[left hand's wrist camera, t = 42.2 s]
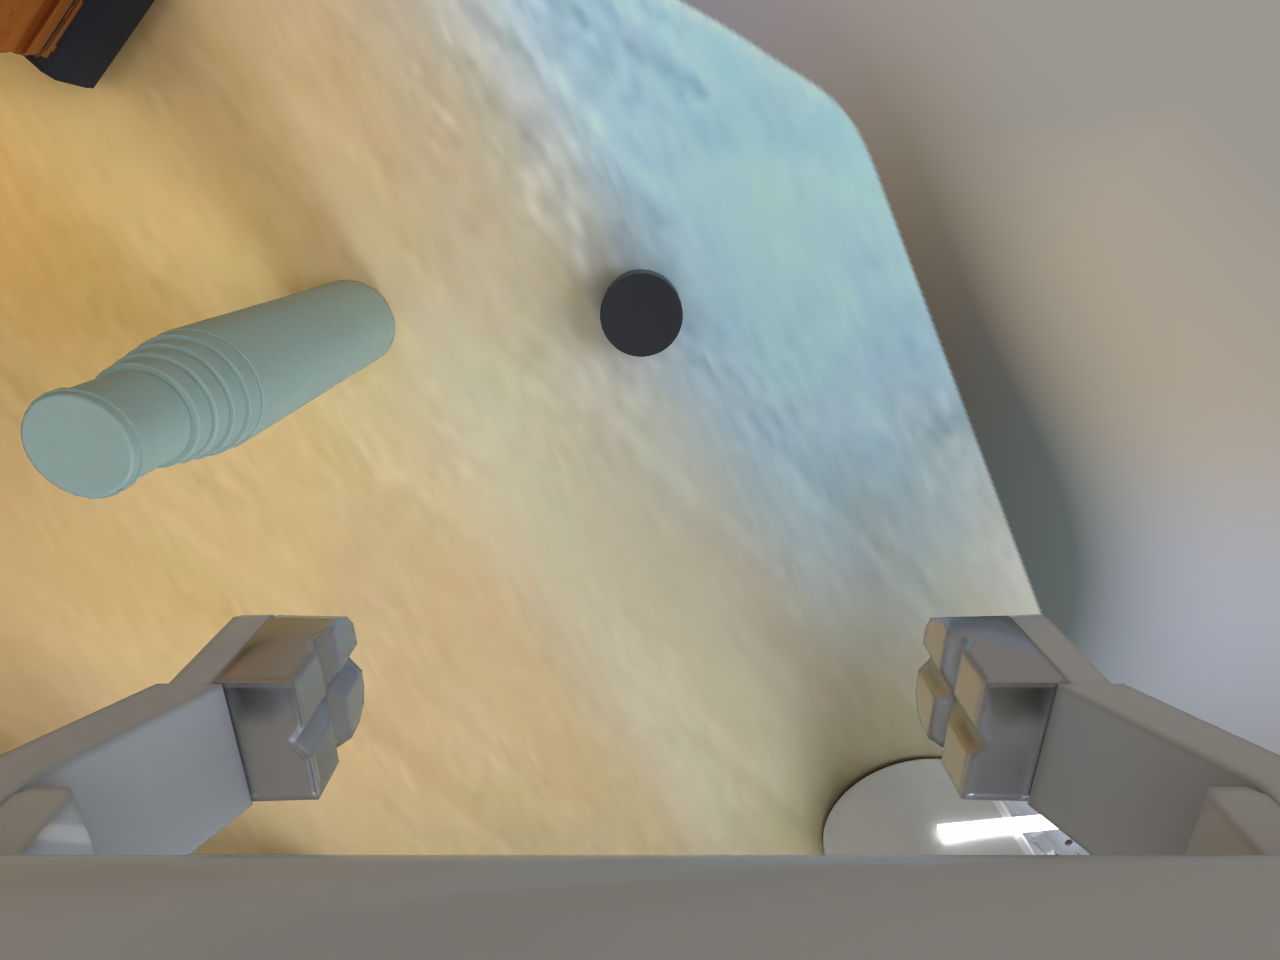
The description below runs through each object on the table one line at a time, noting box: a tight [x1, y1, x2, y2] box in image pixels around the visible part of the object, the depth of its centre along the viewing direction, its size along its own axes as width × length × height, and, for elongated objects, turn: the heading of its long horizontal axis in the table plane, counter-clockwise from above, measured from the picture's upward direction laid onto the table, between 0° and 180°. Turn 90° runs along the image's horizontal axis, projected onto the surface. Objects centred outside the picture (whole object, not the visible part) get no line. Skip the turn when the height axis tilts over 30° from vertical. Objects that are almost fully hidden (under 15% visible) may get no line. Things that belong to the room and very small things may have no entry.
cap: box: [600, 270, 683, 357], centre depth 40 cm, size 4×4×2 cm
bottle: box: [21, 281, 395, 499], centre depth 31 cm, size 5×5×22 cm
